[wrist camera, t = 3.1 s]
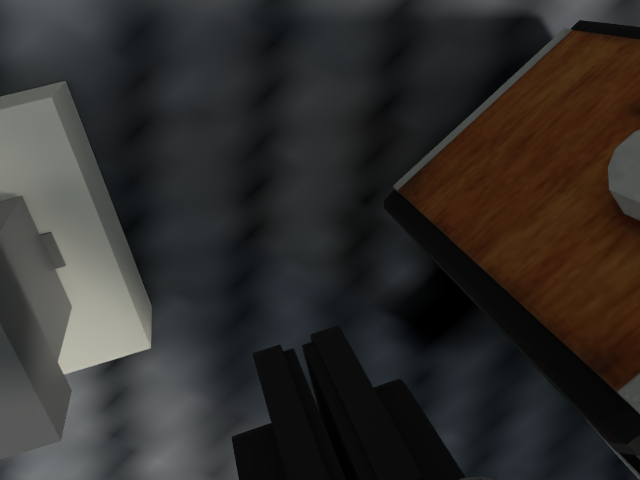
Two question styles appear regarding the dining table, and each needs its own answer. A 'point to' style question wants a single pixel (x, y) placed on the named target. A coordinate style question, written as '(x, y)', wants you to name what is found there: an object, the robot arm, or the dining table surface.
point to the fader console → (74, 225)
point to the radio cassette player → (550, 219)
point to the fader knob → (29, 336)
